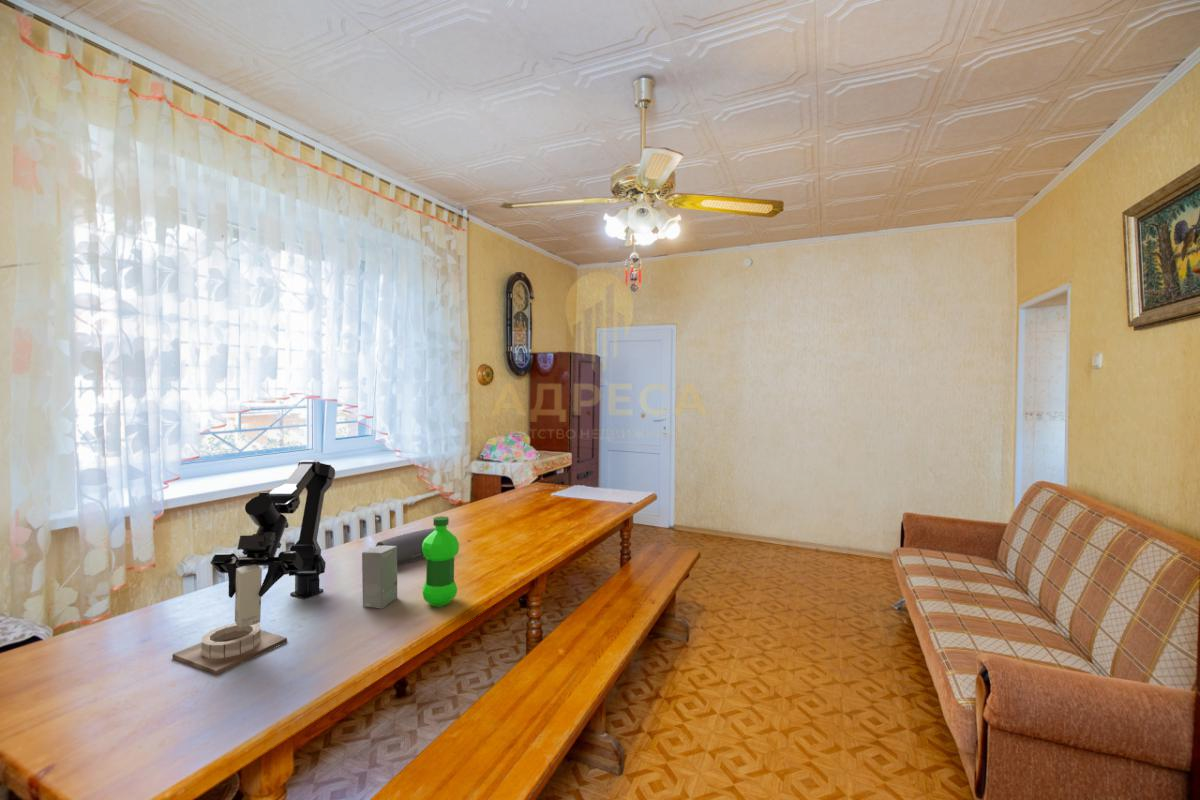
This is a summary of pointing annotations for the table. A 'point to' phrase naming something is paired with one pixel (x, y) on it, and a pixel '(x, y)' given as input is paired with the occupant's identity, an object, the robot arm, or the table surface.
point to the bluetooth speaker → (408, 545)
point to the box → (248, 595)
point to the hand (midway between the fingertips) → (245, 596)
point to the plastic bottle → (440, 564)
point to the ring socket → (228, 647)
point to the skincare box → (379, 576)
